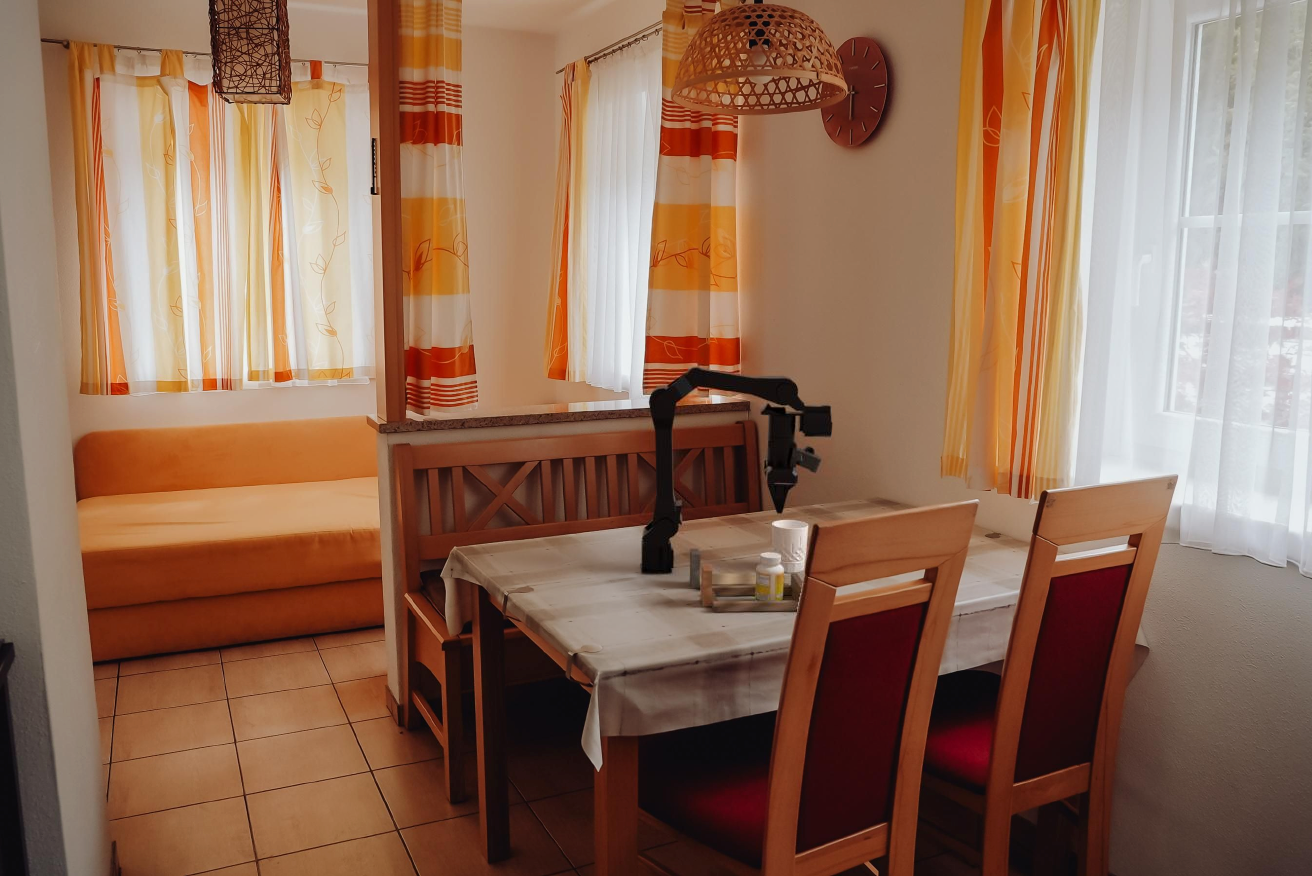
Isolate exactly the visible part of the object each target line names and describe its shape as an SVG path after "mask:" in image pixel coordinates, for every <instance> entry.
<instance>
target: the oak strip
mask: <svg viewBox="0 0 1312 876" xmlns="http://www.w3.org/2000/svg"><path fill="white" fill-rule="evenodd" d="M689 551H690V553H689V582H690V583H689V584H690V586H691V588H692V589H699V590H700V591H701V553H700V550H699V548H690V550H689ZM783 585H790V582H789V580H787V578H786V577H785V575H784V581H783ZM712 586H756V572H755V573H712Z"/></svg>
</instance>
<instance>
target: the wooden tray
mask: <svg viewBox="0 0 1312 876" xmlns="http://www.w3.org/2000/svg"><path fill="white" fill-rule="evenodd" d="M700 574H701V590H700V601H701V604H702V607H711V608H712V611H713V612H714V613H716V612H719V613H720V612H721V613H722V612H779V611H780V612H782V611H786V612H787V611H789V612H790V611H791V612H792V611H796V610H797V607H798V602H799V597H800V593H801V589H802V583H803V582H804V581H803V580H802V578H801V577H800V576H799V574H798V572H797V573H790V584H789V585H783V596H787V595H789V596H792V598H793V600H792V599H790V600H788V599H787V600H783V601H755V600H734V601H733V600H730V601H729V600H728V601H727V600H725V601H722V600H721V601H719V600H718V598H717V597H718V596H725V597H726V596H755V591H756V586H712V574H713V570H712V567H711V564H710V563H709V564H707V563H705V564H703V563H700Z"/></svg>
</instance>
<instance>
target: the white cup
mask: <svg viewBox="0 0 1312 876" xmlns="http://www.w3.org/2000/svg"><path fill="white" fill-rule="evenodd" d="M808 535H809V524H808V523H807V522H804V521H802V520H801V521H800V520H796V519H781V520H776V521H775V520H774V521H773V522H772V523H771V548H772V549H771V550H772V551H771V552H772V553H778V554H780V555H781V562H780V565H781V566H782V567H783V568H784V574H785V573H787V574H794V573H797V574H798V573H801V572H803V571H804V570H805V563H806V557H807V546H808Z"/></svg>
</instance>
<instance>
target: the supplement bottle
mask: <svg viewBox="0 0 1312 876" xmlns="http://www.w3.org/2000/svg"><path fill="white" fill-rule="evenodd" d="M759 555H760V556H759V561H760V563H759V564H757V566H756V568H755V573H756V591H755V595H754V599H755V600H754V601H784V595H783V581H784V576H785V572H784V568H783V567H782V566H781V565H780V562H781V555H780V554H778V553H772V551H771V552H762V553H760V554H759Z"/></svg>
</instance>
